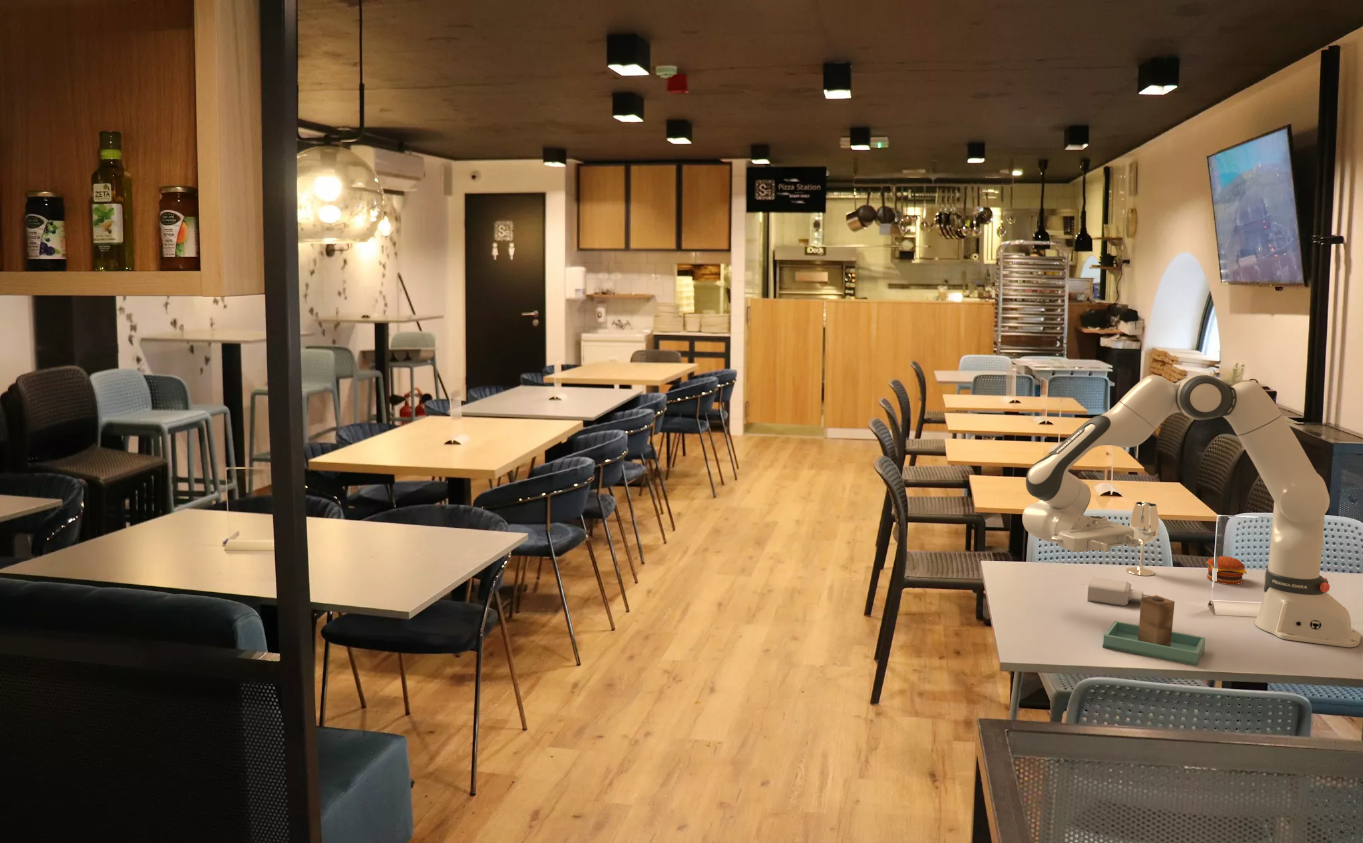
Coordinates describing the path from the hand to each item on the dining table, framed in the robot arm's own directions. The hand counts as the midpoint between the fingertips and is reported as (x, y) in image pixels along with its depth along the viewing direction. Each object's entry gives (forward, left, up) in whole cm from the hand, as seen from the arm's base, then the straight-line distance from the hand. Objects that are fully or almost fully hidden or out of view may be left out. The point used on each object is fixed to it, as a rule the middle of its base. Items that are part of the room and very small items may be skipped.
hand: (1122, 546), depth 265 cm
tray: (-10, +6, -22) cm, 24 cm away
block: (-10, +6, -21) cm, 24 cm away
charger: (+4, -27, -22) cm, 35 cm away
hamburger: (-17, -64, -22) cm, 70 cm away
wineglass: (+5, -58, -22) cm, 63 cm away
